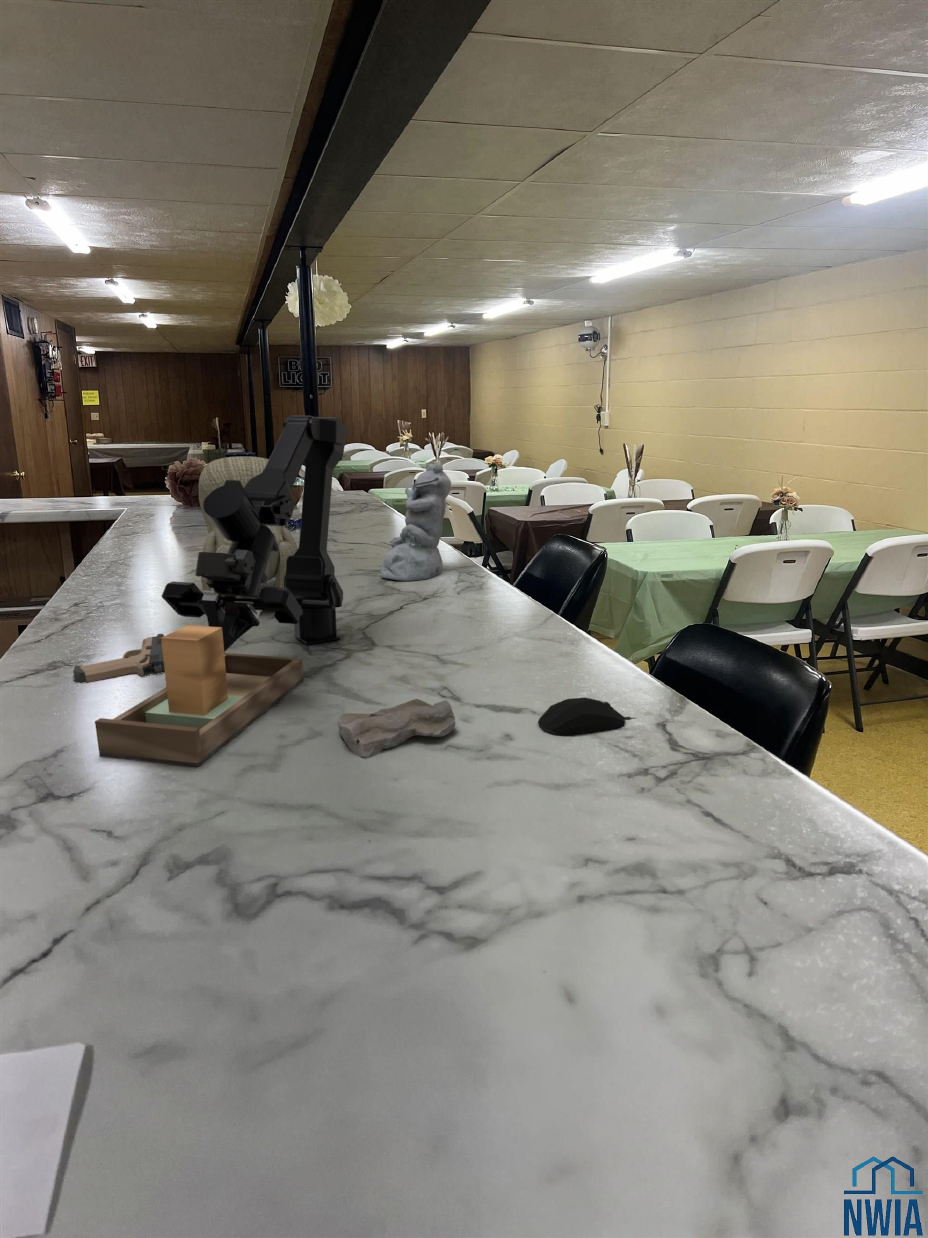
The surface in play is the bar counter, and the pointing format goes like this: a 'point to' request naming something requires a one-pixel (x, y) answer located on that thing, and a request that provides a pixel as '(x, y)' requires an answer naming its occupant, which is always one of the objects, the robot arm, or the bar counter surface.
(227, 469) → the toy
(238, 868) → the bar counter surface
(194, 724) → the pad
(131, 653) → the handgun
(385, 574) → the sculpture
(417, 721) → the stone
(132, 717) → the tray box
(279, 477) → the robot arm
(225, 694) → the block
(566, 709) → the gaming mouse
